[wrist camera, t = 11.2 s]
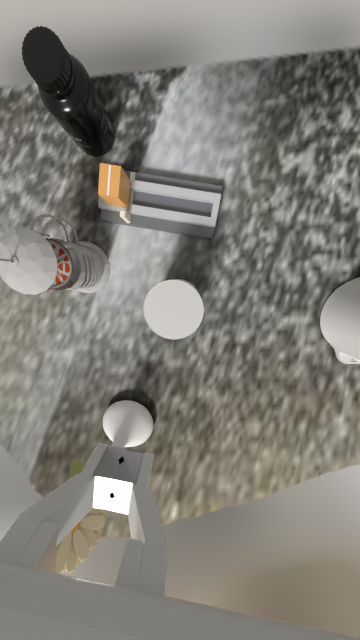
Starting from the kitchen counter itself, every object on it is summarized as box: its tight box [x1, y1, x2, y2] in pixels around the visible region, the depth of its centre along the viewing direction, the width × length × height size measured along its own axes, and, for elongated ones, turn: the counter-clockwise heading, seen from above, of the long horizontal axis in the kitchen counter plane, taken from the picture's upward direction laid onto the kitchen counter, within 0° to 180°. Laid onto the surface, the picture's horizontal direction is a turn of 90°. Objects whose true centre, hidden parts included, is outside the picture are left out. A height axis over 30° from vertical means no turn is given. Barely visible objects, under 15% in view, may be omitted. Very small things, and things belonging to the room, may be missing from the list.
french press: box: [0, 214, 110, 295], centre depth 25 cm, size 10×12×25 cm
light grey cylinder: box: [144, 279, 204, 339], centre depth 31 cm, size 8×8×12 cm
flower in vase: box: [55, 400, 153, 574], centre depth 31 cm, size 13×11×25 cm
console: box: [98, 170, 222, 239], centre depth 31 cm, size 20×8×5 cm, turn 80°
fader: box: [98, 163, 131, 208], centre depth 29 cm, size 3×4×6 cm
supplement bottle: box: [22, 26, 114, 157], centre depth 26 cm, size 7×7×12 cm
